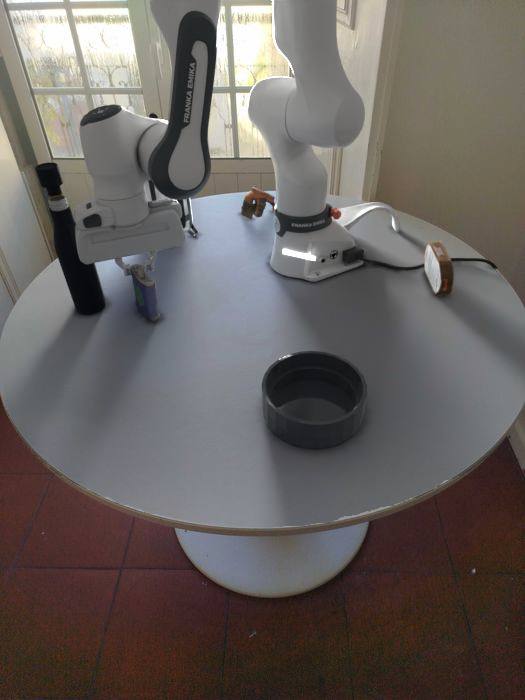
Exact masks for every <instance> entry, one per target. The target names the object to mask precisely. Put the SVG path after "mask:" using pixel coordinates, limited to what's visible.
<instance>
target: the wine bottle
mask: <svg viewBox="0 0 525 700" xmlns="http://www.w3.org/2000/svg"><path fill="white" fill-rule="evenodd" d="M34 170H35V172H36V176H37V179H38V181H39V185H40V187H41V188H43V189H45V190H46V193H47V197H48V198H47V200H48V202H47V204H48V206H49V214H50V216H51V219H52V222H53V245H54V251H55V254H56V256H57V259H58V262H59V265H60V269H61V271H62V274H63V276H64V280H65V282H66V285H67V288H68V290H69V294H70V297H71V300H72V302H73V305H74V308H75V311H76V312H77V313H78V314H80V315H84V316H90V315H95V314H98V313H100V312H102V311H103V310H104V309H105V308H106V306H107V300H106V297H105V293H104V289H103V286H102V283H101V280H100V277H99V273H98V270H97V265H96V263H91V264H84V263H83V262H81V261H80V259H79V255H78V251H77V245H76V237H75V225H76V222H75V219H74V212H73V211H72V207H71V206H70V205H69V202H68V199H67V198H66V196H65V195H64V192H63V190H62V185H63V184H64V180H63V176H62V173H61V169H60V167H59V164H58V163H57V162H43V163H39V164H37V165H35V168H34Z"/></svg>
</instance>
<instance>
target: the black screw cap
mask: <svg viewBox="0 0 525 700" xmlns="http://www.w3.org/2000/svg"><path fill="white" fill-rule="evenodd" d="M367 396H368V385H367V381H366V379H365V376H364V374H363V373H362V372H361V371H360V369H359V368H358V367H357V366H356V365H354V364H353V363H352V362H351V361H349V360H348V359H346V358H345V357H344V358H343V357H342V356H339V355H337V354H334V353H330V352H326V351H318V350H304V351H297V352H293V353H290V354H287V355H284V356H283V357H280V358H279V359H277V360H275V361H274V362H273V363H272V364H271V365H270V366H269V367H268V368H267V370H266V371H265V373H264V374H263V377H262V380H261V400H262V402H261V403H262V404H261V406H262V415H263V419H264V421H265V423H266V425H267V427H268V428H269V429H270V430H271V431H272V433H274V434H275V436H277V437H279V438H280V439H281V440H283V441H285V442H286V443H289V444H291V445H294V446H297V447H300V448H307V449H323V448H331V447H334V446H337V445H340V444H342V443H344V442H346V441H347V440H348V439H350V438H352V437H353V436H354V435H355V434H356V433H357V431H358V430H359V429H360V428H361V426H362V422H363V420H364V415H365V410H366V409H365V408H366V403H367Z"/></svg>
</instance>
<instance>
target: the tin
mask: <svg viewBox="0 0 525 700" xmlns="http://www.w3.org/2000/svg"><path fill="white" fill-rule="evenodd" d="M451 258H452V257H451V256H450V254H449V253H448V251H447V248H446V246H445V244H444V242H443V241H442V240H441V239H440V240H433V241H432V240H431V241H428V242H427V243H426V244H425V251H424V256H423V264H424V267H423V269H424V273H425V276H426V279H427V281H428V284H429V286H430V288H431V291H432V293H433V294H434V295H435V296H450V294H451V293H452V290H453V287H454V277H455V275H454V272H455V271H454V264H453V261H452V260H451Z"/></svg>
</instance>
